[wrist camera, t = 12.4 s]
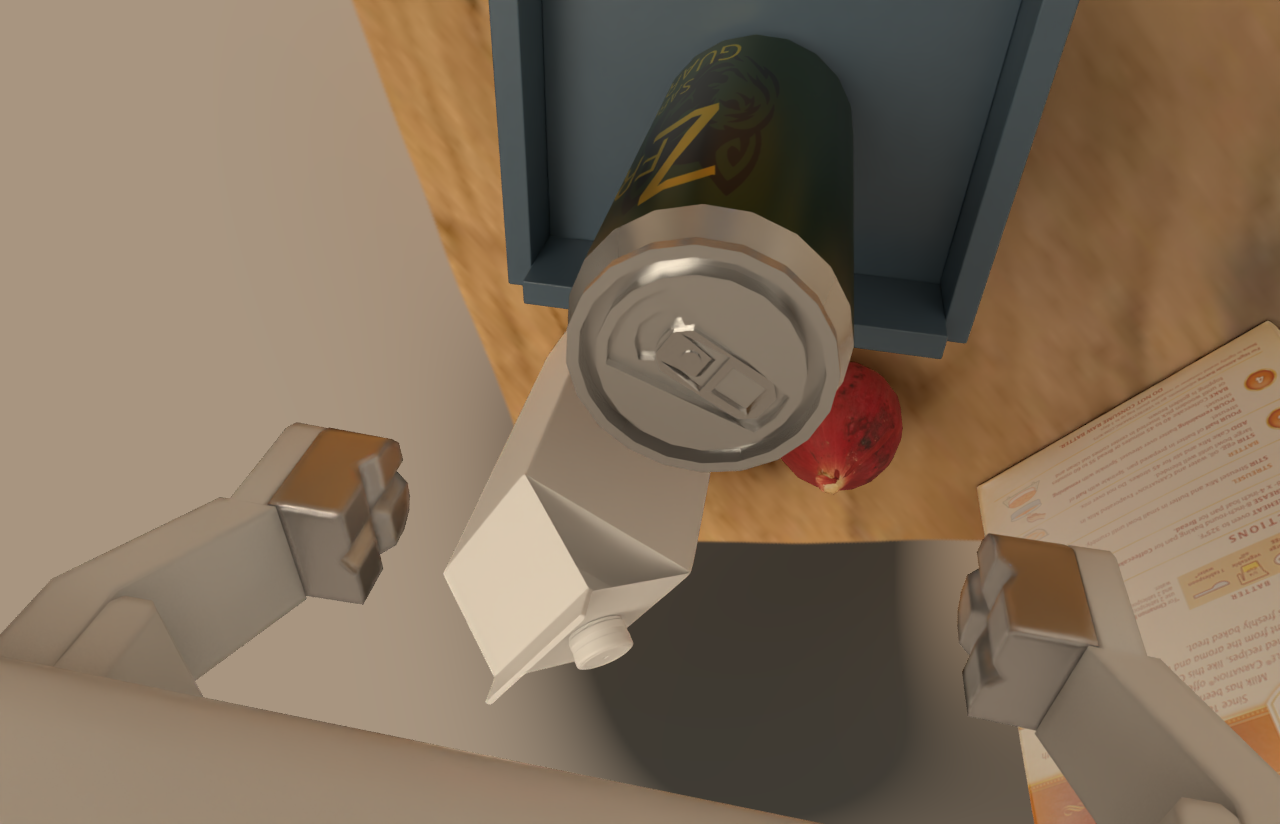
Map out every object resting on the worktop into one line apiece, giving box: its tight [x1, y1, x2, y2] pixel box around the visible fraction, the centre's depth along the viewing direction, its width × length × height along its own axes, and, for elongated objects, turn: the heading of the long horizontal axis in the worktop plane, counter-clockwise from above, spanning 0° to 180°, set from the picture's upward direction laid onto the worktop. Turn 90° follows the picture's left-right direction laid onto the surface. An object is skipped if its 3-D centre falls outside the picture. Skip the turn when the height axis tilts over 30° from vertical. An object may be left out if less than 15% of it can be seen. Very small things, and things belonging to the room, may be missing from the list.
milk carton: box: [444, 330, 710, 704], centre depth 36 cm, size 7×7×19 cm
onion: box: [781, 362, 903, 494], centre depth 39 cm, size 6×6×8 cm
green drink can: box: [566, 35, 854, 472], centre depth 20 cm, size 5×5×12 cm
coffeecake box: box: [977, 321, 1280, 824], centre depth 34 cm, size 15×7×20 cm, turn 141°
